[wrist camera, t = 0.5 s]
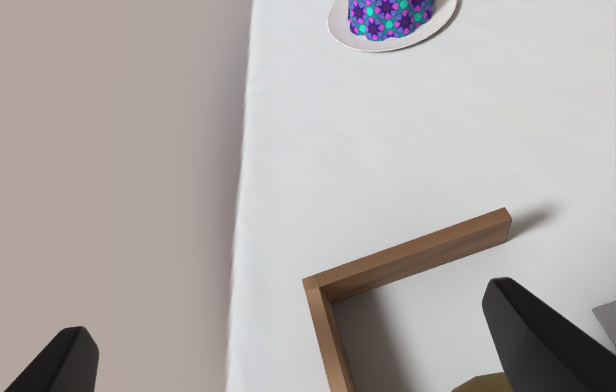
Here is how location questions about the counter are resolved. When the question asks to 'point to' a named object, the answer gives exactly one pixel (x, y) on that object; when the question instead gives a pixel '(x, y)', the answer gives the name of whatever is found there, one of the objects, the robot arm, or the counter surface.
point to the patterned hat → (386, 22)
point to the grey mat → (607, 318)
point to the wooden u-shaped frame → (391, 279)
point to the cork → (486, 384)
